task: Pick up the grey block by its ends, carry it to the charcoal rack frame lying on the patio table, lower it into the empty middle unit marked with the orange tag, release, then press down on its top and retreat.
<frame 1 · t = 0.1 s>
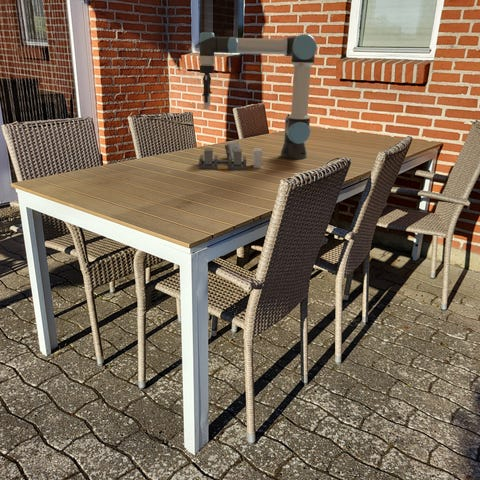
hand: (207, 107, 253), 28 cm above the table, fingers open, 13 cm apart
electrical switch: (233, 158, 268), on the table
rack: (223, 166, 248), on the table
grey block: (257, 166, 250), on the table
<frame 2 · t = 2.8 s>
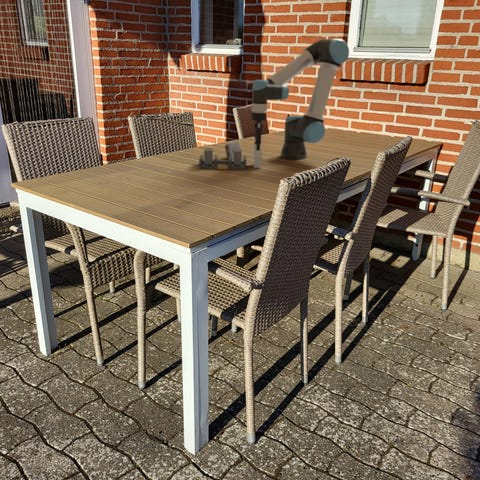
hand: (256, 154, 248), 6 cm above the table, fingers open, 13 cm apart
nothing on the table moved.
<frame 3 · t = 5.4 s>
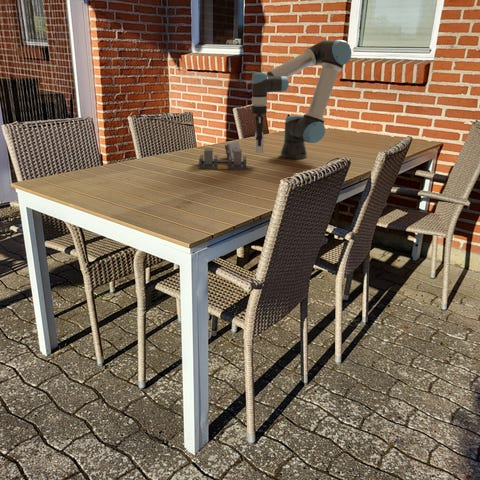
hand: (259, 150, 248), 8 cm above the table, fingers closed on grey block, 8 cm apart
grey block: (259, 151, 248), point 8 cm above the table, touching gripper
everything else where it was.
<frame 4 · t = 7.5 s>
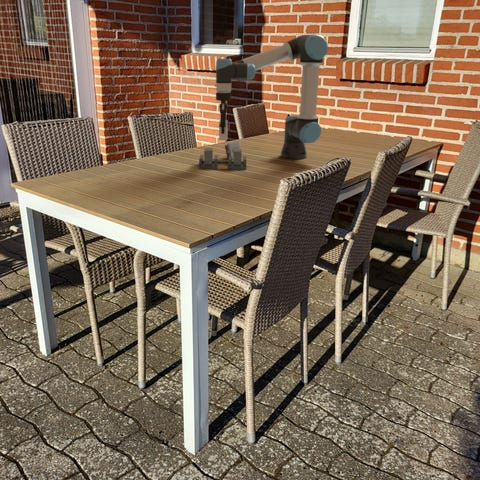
hand: (223, 138, 243), 15 cm above the table, fingers closed on grey block, 8 cm apart
grey block: (223, 139, 243), point 14 cm above the table, touching gripper
everything else where it was.
when the fingers open (3 cm above the table, at t = 10.2 s): grey block drops 2 cm, resting on rack.
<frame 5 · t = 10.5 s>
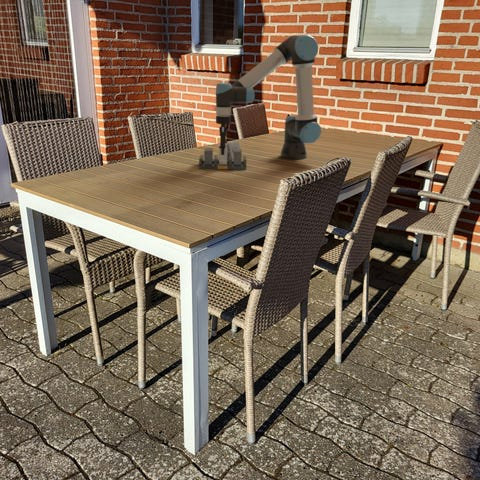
hand: (223, 158, 247), 4 cm above the table, fingers open, 11 cm apart
grey block: (223, 165, 248), point 1 cm above the table, touching rack
everything else where it was.
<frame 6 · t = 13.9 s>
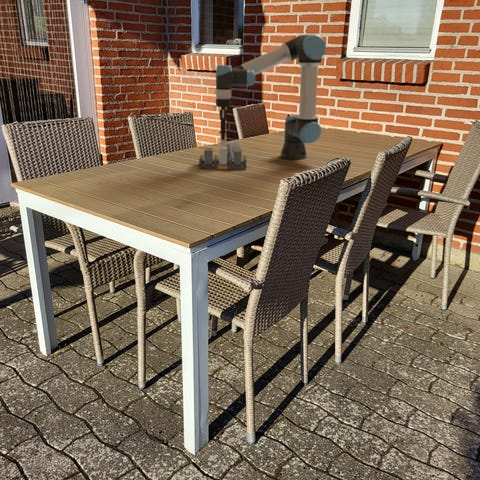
hand: (223, 145, 244), 11 cm above the table, fingers closed
nothing on the table moved.
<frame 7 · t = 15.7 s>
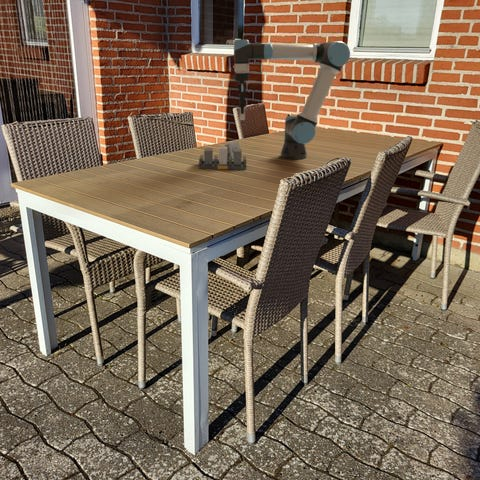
hand: (242, 119, 250), 23 cm above the table, fingers closed
nothing on the table moved.
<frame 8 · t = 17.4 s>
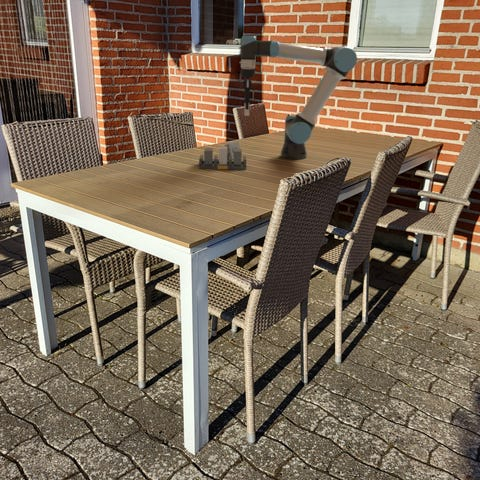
hand: (246, 115, 253), 24 cm above the table, fingers closed
nothing on the table moved.
at the end: grey block 0.1 cm off-centre on the rack, point 0.8 cm above the rack's base; grey block tilted 0°; the gripper is holding nothing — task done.
